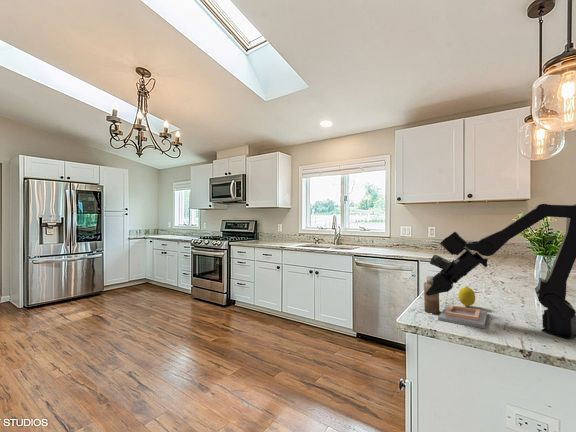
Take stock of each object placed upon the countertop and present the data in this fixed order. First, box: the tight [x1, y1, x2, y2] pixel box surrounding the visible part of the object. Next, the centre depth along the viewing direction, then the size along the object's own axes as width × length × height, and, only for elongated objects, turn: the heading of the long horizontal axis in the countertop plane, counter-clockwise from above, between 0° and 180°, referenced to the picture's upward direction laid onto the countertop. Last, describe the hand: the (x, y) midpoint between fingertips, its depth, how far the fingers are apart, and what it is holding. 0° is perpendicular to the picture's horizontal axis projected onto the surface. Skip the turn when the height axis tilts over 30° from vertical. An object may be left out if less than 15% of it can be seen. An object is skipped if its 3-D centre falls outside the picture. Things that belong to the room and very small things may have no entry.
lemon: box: [458, 286, 476, 308], centre depth 108 cm, size 6×6×8 cm
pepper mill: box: [423, 275, 441, 315], centre depth 104 cm, size 5×5×13 cm
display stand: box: [437, 304, 488, 329], centre depth 97 cm, size 13×16×2 cm
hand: (429, 291), depth 104 cm, fingers open, 9 cm apart
